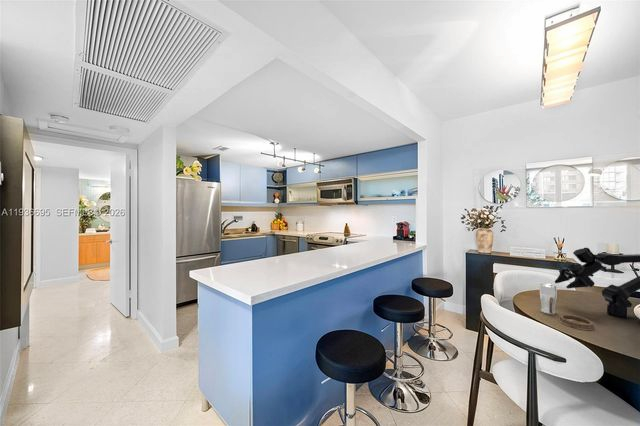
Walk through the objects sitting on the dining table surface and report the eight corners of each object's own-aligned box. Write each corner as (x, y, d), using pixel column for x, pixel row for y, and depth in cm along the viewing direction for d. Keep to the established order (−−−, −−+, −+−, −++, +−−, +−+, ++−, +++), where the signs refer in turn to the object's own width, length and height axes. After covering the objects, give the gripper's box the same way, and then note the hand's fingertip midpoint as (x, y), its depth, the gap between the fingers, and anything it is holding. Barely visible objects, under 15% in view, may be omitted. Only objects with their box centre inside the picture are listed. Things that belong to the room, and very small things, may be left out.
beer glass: (550, 315, 132) (551, 288, 132) (536, 310, 139) (536, 284, 139) (559, 314, 134) (560, 286, 134) (545, 308, 141) (545, 283, 141)
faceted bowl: (594, 324, 122) (594, 319, 122) (594, 333, 114) (595, 328, 114) (559, 316, 131) (559, 312, 131) (557, 324, 123) (557, 319, 123)
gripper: (565, 254, 145) (540, 269, 148) (591, 261, 127) (562, 278, 130) (579, 269, 143) (553, 284, 146) (607, 278, 125) (577, 295, 128)
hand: (560, 285), depth 138 cm, fingers open, 9 cm apart
